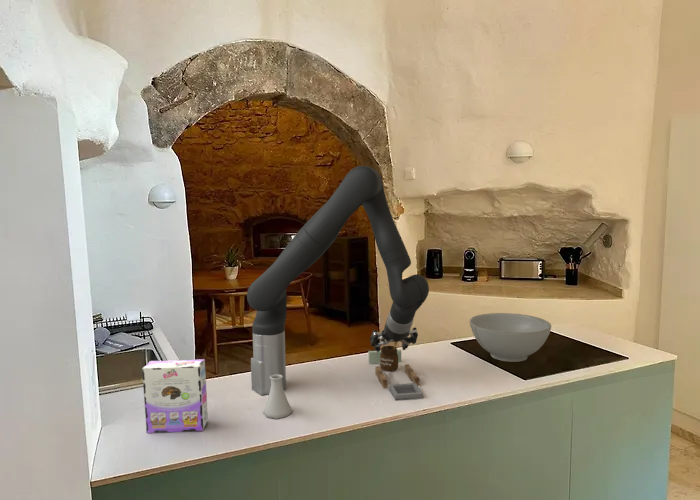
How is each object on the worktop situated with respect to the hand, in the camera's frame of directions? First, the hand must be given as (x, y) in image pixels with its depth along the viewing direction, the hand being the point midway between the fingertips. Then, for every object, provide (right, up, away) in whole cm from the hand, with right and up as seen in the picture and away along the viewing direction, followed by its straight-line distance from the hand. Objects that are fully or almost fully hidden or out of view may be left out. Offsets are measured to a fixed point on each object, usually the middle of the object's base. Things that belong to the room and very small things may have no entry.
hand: (390, 348), depth 162 cm
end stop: (-1, -6, +9) cm, 11 cm away
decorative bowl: (+42, -6, +14) cm, 45 cm away
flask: (-32, -11, -30) cm, 45 cm away
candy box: (-55, -13, -37) cm, 68 cm away
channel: (+1, -8, -7) cm, 11 cm away
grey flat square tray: (+3, -9, -18) cm, 21 cm away
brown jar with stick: (0, -7, +2) cm, 8 cm away
